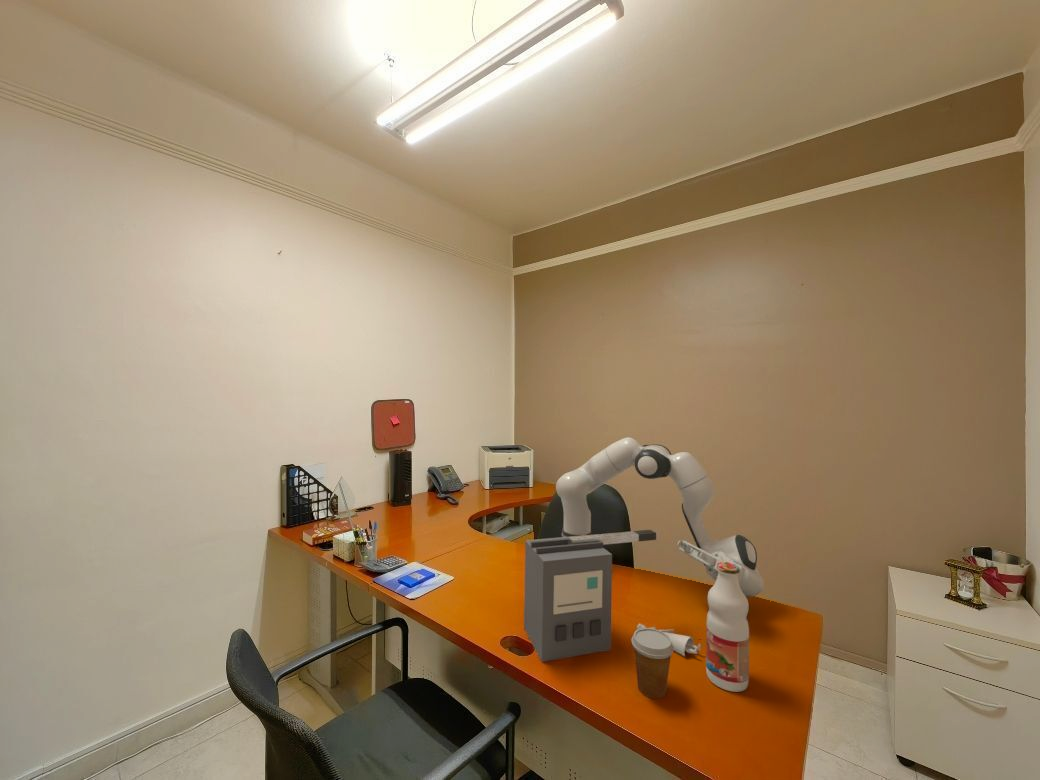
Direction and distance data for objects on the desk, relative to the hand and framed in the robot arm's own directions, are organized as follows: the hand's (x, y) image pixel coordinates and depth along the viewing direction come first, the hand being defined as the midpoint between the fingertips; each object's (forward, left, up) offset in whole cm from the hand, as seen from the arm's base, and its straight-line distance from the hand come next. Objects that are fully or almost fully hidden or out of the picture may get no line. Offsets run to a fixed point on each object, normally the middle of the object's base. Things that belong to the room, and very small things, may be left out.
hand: (689, 548), depth 129 cm
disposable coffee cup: (+24, -29, -22) cm, 44 cm away
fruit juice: (+26, -9, -22) cm, 35 cm away
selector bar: (0, -26, +4) cm, 27 cm away
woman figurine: (+9, -15, -23) cm, 28 cm away
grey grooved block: (0, -41, -22) cm, 47 cm away
